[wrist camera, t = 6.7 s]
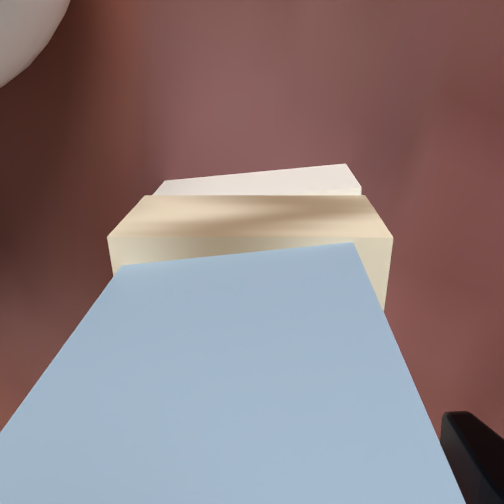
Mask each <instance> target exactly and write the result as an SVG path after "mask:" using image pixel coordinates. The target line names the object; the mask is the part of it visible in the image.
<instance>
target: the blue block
mask: <svg viewBox="0 0 504 504" xmlns="http://www.w3.org/2000/svg"><path fill="white" fill-rule="evenodd" d="M0 504H466V503H465V500H464V498H463V496H462V493H461V491H460V489H459V486H458V484H457V482H456V479H455V477H454V475H453V472H452V470H451V468H450V465H449V463H448V461H447V459H446V456H445V454H444V452H443V449H442V447H441V445H440V442H439V440H438V438H437V435H436V433H435V431H434V428H433V426H432V424H431V421H430V419H429V417H428V414H427V412H426V410H425V407H424V405H423V403H422V401H421V398H420V396H419V394H418V391H417V389H416V387H415V384H414V382H413V380H412V377H411V375H410V373H409V370H408V368H407V366H406V363H405V361H404V359H403V356H402V354H401V352H400V349H399V347H398V345H397V342H396V340H395V338H394V336H393V333H392V331H391V329H390V326H389V324H388V322H387V319H386V317H385V315H384V312H383V310H382V308H381V305H380V303H379V301H378V298H377V296H376V294H375V291H374V289H373V287H372V284H371V282H370V280H369V278H368V275H367V273H366V271H365V268H364V266H363V264H362V261H361V259H360V257H359V254H358V252H357V250H356V247H355V245H354V243H353V242H347V243H337V244H328V245H318V246H308V247H298V248H288V249H278V250H268V251H258V252H249V253H239V254H229V255H219V256H209V257H199V258H190V259H180V260H170V261H160V262H150V263H140V264H131V265H122V266H121V267H120V268H119V270H118V271H117V272H116V274H115V275H114V277H113V278H112V279H111V281H110V282H109V284H108V285H107V286H106V288H105V289H104V290H103V292H102V293H101V295H100V296H99V297H98V299H97V300H96V301H95V303H94V304H93V306H92V307H91V308H90V310H89V311H88V312H87V314H86V315H85V317H84V318H83V319H82V321H81V322H80V323H79V325H78V326H77V328H76V329H75V330H74V332H73V333H72V335H71V336H70V337H69V339H68V340H67V341H66V343H65V344H64V346H63V347H62V348H61V350H60V351H59V352H58V354H57V355H56V357H55V358H54V359H53V361H52V362H51V363H50V365H49V366H48V368H47V369H46V370H45V372H44V373H43V374H42V376H41V377H40V379H39V380H38V381H37V383H36V384H35V385H34V387H33V388H32V390H31V391H30V392H29V394H28V395H27V397H26V398H25V399H24V401H23V402H22V403H21V405H20V406H19V408H18V409H17V410H16V412H15V413H14V414H13V416H12V417H11V419H10V420H9V421H8V423H7V424H6V425H5V427H4V428H3V430H2V431H1V432H0Z"/></svg>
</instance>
